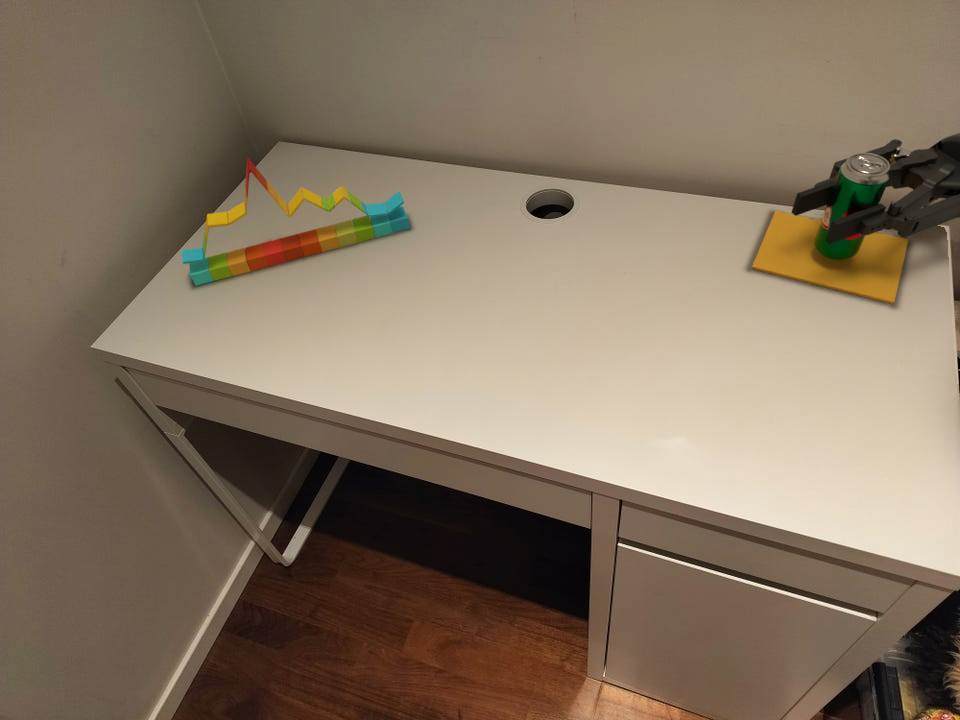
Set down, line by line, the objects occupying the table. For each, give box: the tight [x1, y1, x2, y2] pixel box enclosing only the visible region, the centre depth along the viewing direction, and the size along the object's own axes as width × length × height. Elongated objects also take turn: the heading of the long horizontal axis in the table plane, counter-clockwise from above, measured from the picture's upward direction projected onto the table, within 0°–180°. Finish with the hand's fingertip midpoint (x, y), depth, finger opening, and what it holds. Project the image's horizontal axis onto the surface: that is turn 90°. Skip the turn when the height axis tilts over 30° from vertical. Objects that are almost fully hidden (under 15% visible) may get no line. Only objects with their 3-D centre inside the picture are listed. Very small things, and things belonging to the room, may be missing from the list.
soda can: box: [814, 152, 890, 260], centre depth 77 cm, size 5×5×12 cm
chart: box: [181, 157, 411, 287], centre depth 89 cm, size 30×3×15 cm, turn 107°
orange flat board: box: [751, 210, 909, 305], centre depth 84 cm, size 16×12×1 cm
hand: (813, 218), depth 76 cm, fingers closed on soda can, 5 cm apart
